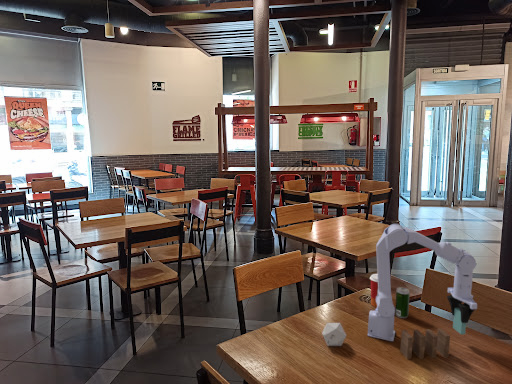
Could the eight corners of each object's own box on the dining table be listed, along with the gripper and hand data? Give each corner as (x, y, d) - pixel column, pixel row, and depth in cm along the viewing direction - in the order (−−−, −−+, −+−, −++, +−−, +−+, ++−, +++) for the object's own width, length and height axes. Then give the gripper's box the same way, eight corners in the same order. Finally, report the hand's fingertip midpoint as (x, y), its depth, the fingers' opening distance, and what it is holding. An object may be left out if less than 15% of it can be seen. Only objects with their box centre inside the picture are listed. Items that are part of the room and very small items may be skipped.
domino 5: (460, 334, 133) (462, 314, 132) (452, 327, 138) (454, 307, 137) (465, 334, 133) (466, 313, 132) (456, 327, 138) (458, 307, 137)
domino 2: (419, 358, 127) (420, 337, 126) (412, 350, 132) (413, 329, 131) (423, 358, 127) (425, 337, 126) (416, 350, 132) (417, 329, 131)
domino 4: (444, 357, 127) (445, 336, 126) (436, 349, 132) (437, 328, 131) (448, 357, 127) (450, 336, 126) (440, 349, 132) (441, 328, 131)
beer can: (404, 319, 154) (406, 293, 152) (392, 315, 158) (394, 289, 156) (410, 315, 158) (411, 289, 156) (398, 311, 162) (399, 286, 160)
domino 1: (406, 358, 127) (408, 337, 125) (400, 350, 132) (401, 330, 130) (411, 358, 127) (412, 337, 126) (404, 350, 132) (405, 330, 130)
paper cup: (386, 302, 170) (387, 274, 168) (386, 309, 163) (387, 280, 161) (368, 300, 173) (370, 272, 171) (368, 307, 166) (369, 278, 164)
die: (317, 342, 138) (320, 331, 131) (328, 324, 143) (331, 313, 136) (336, 355, 135) (340, 345, 128) (346, 336, 140) (351, 326, 133)
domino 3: (431, 357, 127) (433, 336, 126) (424, 349, 132) (425, 329, 131) (436, 357, 127) (437, 336, 126) (428, 349, 132) (429, 329, 131)
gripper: (486, 291, 126) (483, 328, 128) (460, 276, 140) (458, 309, 142) (467, 292, 126) (464, 328, 127) (443, 276, 140) (440, 309, 142)
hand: (459, 318), depth 135 cm, fingers closed on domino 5, 5 cm apart
